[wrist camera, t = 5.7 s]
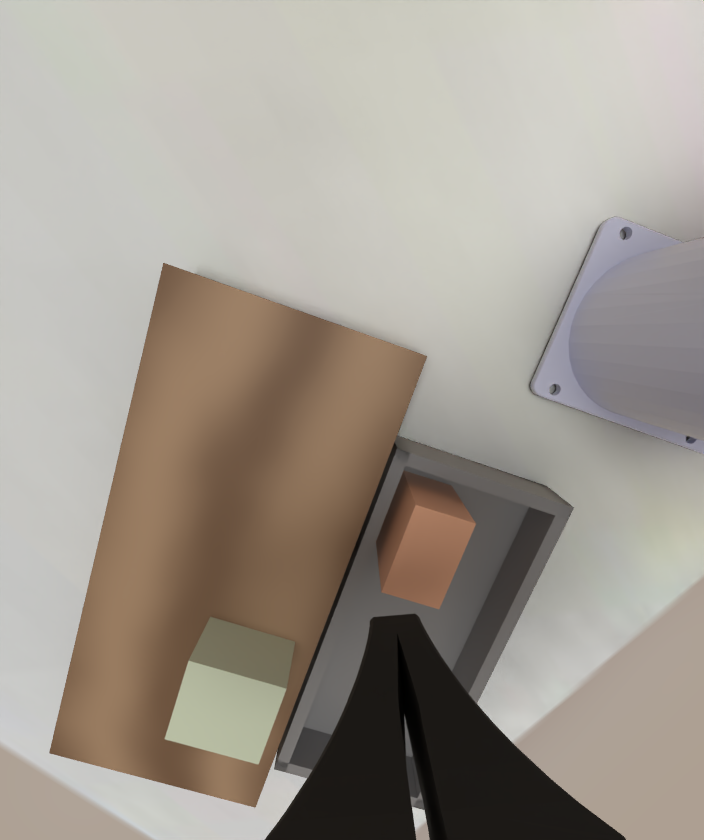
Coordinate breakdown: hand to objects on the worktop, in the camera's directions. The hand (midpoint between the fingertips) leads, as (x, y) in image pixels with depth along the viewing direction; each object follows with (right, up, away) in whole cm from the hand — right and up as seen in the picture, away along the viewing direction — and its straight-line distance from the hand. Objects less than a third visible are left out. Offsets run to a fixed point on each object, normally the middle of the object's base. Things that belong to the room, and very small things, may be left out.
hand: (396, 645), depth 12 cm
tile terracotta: (0, +2, +6) cm, 7 cm away
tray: (+2, -4, +10) cm, 11 cm away
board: (-7, 0, +9) cm, 12 cm away
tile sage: (-6, -5, +7) cm, 11 cm away
